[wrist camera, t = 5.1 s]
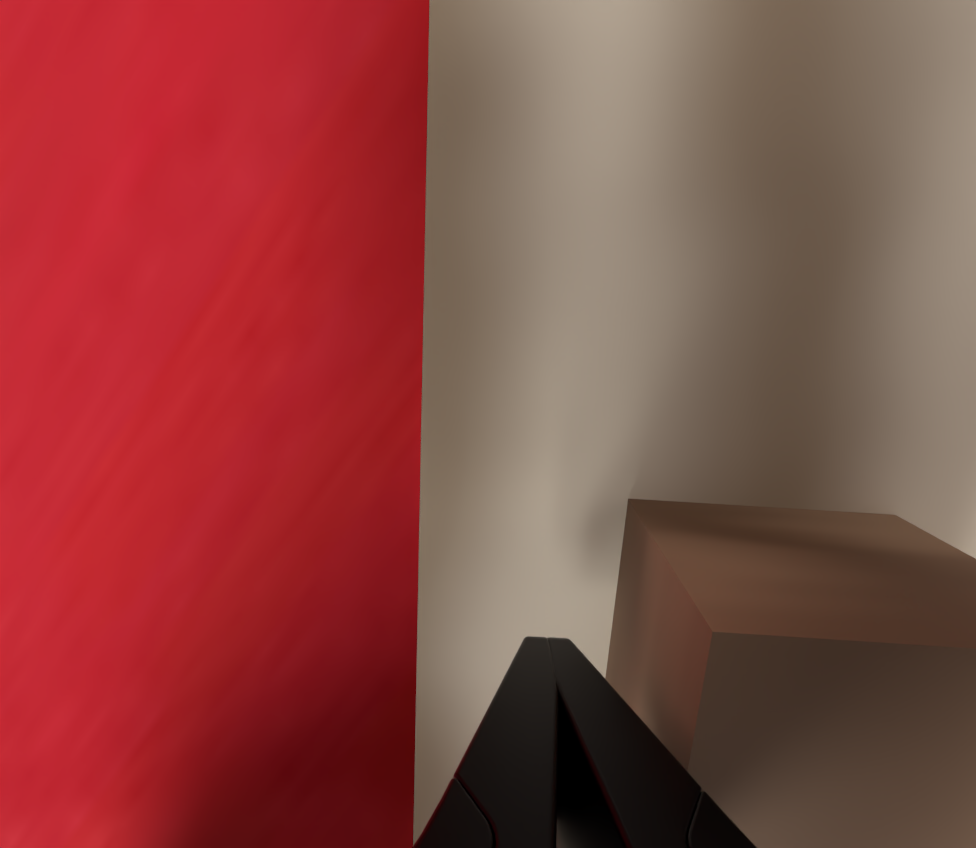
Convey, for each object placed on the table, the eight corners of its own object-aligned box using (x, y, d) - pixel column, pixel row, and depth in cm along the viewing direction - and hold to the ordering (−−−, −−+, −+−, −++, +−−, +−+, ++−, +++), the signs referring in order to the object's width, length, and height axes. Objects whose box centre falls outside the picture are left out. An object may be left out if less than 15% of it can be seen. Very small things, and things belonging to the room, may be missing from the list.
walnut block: (600, 719, 11) (654, 952, 7) (628, 498, 10) (712, 631, 6) (837, 735, 11) (1026, 979, 7) (894, 514, 10) (1161, 660, 6)
